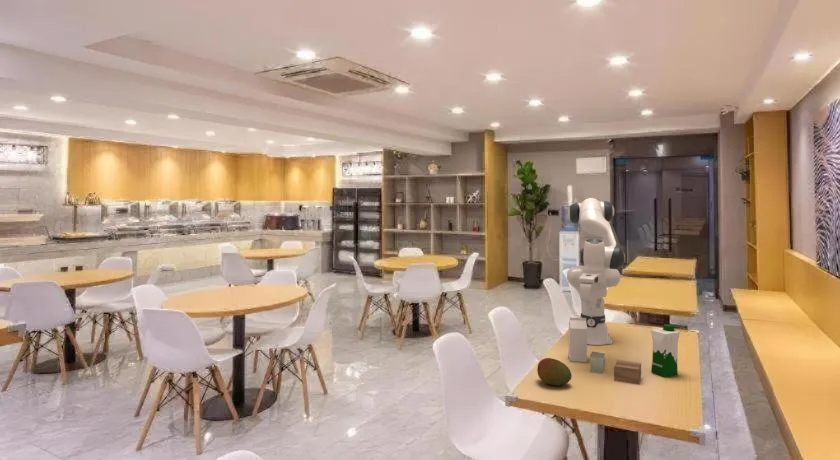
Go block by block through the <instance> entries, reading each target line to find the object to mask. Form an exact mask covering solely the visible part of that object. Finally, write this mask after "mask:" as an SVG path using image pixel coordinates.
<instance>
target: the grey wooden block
mask: <svg viewBox="0 0 840 460" xmlns="http://www.w3.org/2000/svg"><path fill="white" fill-rule="evenodd" d="M605 357H606V353H605V352H596V351H591V352H590V356H589V358H590V361H589V363H590V364H589V366H590V369H589V370H590V372H591V373H599V374H604V372H605V364H606V363H605V362H606V361H605Z"/></svg>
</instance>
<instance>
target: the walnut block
mask: <svg viewBox="0 0 840 460" xmlns="http://www.w3.org/2000/svg"><path fill="white" fill-rule="evenodd" d="M641 378H642V362H636V361H630V360H629V361H628V360H622V359H621V360H620V359H617V360H616V361H615V363H614V366H613V381H615V382H621V383H629V384H635V385H640V381H641Z"/></svg>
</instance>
